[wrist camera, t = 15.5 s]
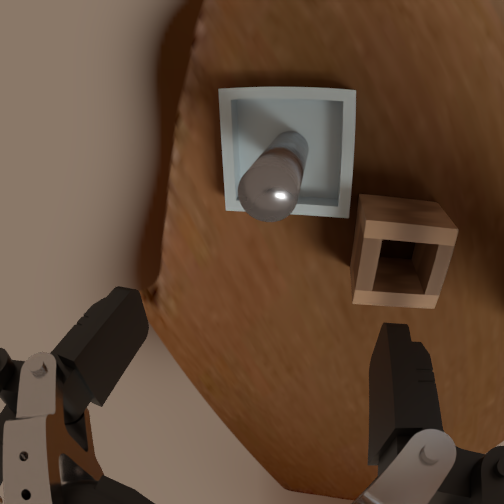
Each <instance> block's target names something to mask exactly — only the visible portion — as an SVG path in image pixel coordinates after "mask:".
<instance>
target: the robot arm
mask: <svg viewBox="0 0 504 504" xmlns="http://www.w3.org/2000/svg"><path fill="white" fill-rule="evenodd" d="M148 326H149V325H148V320H147V317H146V313H145V310H144V306H143V303H142V299H141V296H140V293H139V291H138V290H136V289H130V288H125V287H119V286H118V287H116V288H114V289H113V290H112V291H111V293H110V294H109V295H108V296H107V297H106V298H103V299H101V300H100V301H98V302H97V303H95V304H93V305H92V306H91V307H90V308H89V309H88V310H87V312H86V313H85V314H84V317H81V318H80V319H79V321H78V322H77V325H74V326H73V328H72V329H71V330H70V331H69V332H68V333H67V335H66V336H65V337H64V338H63V339H62V340H61V341H60V343H59V344H58V345H57V346H56V347H55V349H54V350H53V351H52V352H51V353H46V352H40V353H37V354H34V355H32V356H31V357H29V358H28V359H27V360H26V361H16V360H12V359H11V358H10V356H9V355H8V353H7V352H6V351H5V349H3V348H0V398H1V399H2V400H3V401H4V403H6V406H5V407H4V409H3V411H2V412H1V413H0V485H1V483H2V481H3V490H4V504H154V503H153V502H152V501H150V500H148V499H147V498H146V497H144V496H143V495H142V494H140V493H139V492H137V491H136V490H135V489H132V488H130V487H128V486H125V485H123V484H121V483H119V482H117V481H115V480H112V479H110V478H108V477H106V476H104V474H103V471H102V469H101V467H100V465H99V464H98V462H97V459H96V457H95V452H94V446H93V439H92V432H91V424H90V416H89V410H88V409H87V406H88V404H89V403H90V402H92V403H94V404H96V405H99V406H101V407H102V406H103V404H104V403H105V401H106V400H107V398H108V396H109V395H110V393H111V391H112V390H113V389H114V387H115V385H116V384H117V382H118V381H119V379H120V377H121V376H122V374H123V373H124V371H125V370H126V368H127V367H128V365H129V364H130V362H131V360H132V359H133V358H134V356H135V354H136V353H137V351H138V350H139V348H140V347H141V345H142V344H143V342H144V341H145V339H146V337H147V334H148V329H149V327H148ZM432 370H433V368H432V363H431V358H430V354H429V353H428V352H427V350H426V349H425V347H424V346H423V344H422V343H421V342H411V337H410V332H409V327H408V325H407V324H395V323H383V325H382V327H381V330H380V333H379V336H378V339H377V342H376V345H375V348H374V351H373V354H372V357H371V361H370V368H369V449H368V465H378V476H377V478H376V479H375V480H374V481H373V482H372V483H371V484H370V485H369V486H368V487H367V488H366V489H365V490H364V491H363V493H362V494H361V495H360V496H359V497H358V498H357V499H356V500H355V501H354V502H353V503H352V504H504V446H498V447H495V448H493V449H491V450H490V451H489V452H488V453H486V454H481V453H476V452H472V451H468V450H464V449H460V448H458V447H456V446H455V444H454V442H453V440H452V439H451V438H450V437H449V436H448V435H447V434H446V433H444V430H443V427H442V420H441V413H440V407H439V400H438V394H437V389H436V384H435V378H434V373H433V372H432ZM0 504H2V498H1V496H0Z"/></svg>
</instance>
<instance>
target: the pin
mask: <svg viewBox="0 0 504 504" xmlns="http://www.w3.org/2000/svg"><path fill="white" fill-rule="evenodd" d="M308 152H309V147H308V143H307V141H306V139H305V138H304V137H303V136H302V135H301V134H299V133H297V132H294V131H285V132H283V133H281V134H279V135H278V136H277V137H276V138H275V139H274V140H273V141H272V142H271V144H270V145H269V146H268V147H267V148H266V149H265V150H264V152H263V153H262V154H261V155H260V156H259V157H258V159H257V160H256V161H255V162H254V163H253V164H252V166H251V167H250V168H249V169H248V170H247V171H246V173H245V174H244V175H243V176H242V178H241V180H240V182H239V185H238V198H239V201H240V204H241V205H242V207H243V209H244V210H245V211H246V212H247V213H248V214H249V215H250V216H252V217H253V218H255V219H258V220H260V221H265V222H275V221H279V220H282V219H284V218H286V217H287V216H289V215H290V214H291V213H292V211H293V210H294V209H295V207H296V204H297V201H298V197H299V192H300V188H301V183H302V179H303V174H304V170H305V165H306V161H307V156H308Z"/></svg>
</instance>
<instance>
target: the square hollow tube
mask: <svg viewBox="0 0 504 504" xmlns="http://www.w3.org/2000/svg"><path fill="white" fill-rule="evenodd" d="M458 231H459V229H458V228H457V227H456V225H455V224H454V223H453V221H452V220H451V219H450V218H449V216H448V215H447V214H446V212H445V211H444V210H443V209H442V207H441V206H440V205H439V204H438V203H437V202H431V201H423V200H415V199H406V198H398V197H388V196H378V195H368V194H359V199H358V208H357V218H356V226H355V234H354V242H353V250H352V257H351V264H350V274H351V287H352V303H353V304H364V305H379V306H394V307H412V308H432V309H434V308H435V305H436V303H437V300H438V297H439V294H440V291H441V288H442V285H443V282H444V279H445V276H446V273H447V270H448V267H449V263H450V260H451V257H452V253H453V250H454V246H455V242H456V239H457V235H458ZM382 239H385V240H396V241H407V242H415V247H414V251H413V255H412V259H411V260H410V259H398V258H386V257H379V254H380V249H381V243H382Z"/></svg>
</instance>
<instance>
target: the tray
mask: <svg viewBox="0 0 504 504" xmlns="http://www.w3.org/2000/svg"><path fill="white" fill-rule="evenodd" d="M218 90H219V109H220V126H221V143H222V159H223V175H224V189H225V204H226V211H245V210H244V209H243V207H242V205H241V204H240V201H239V198H238V185H239V182H240V180H241V178H242V176H243V175H244V174H245V173H246V171H247V170H248V169H249V168H250V167H251V166H252V164H253V163H254V162H255V161H256V160H257V159H258V157H259V156H260V155H261V154H262V153H263V152H264V150H265V149H266V148H267V147H268V146H269V145H270V144H271V142H272V141H273V140H274V139H275V138H276V137H277V136H278V135H279V134H281V133H283V132H285V131H294V132H297V133H299V134H301V135H302V136H303V137H304V138H305V139H306V141H307V143H308V147H309V152H308V156H307V161H306V165H305V170H304V174H303V179H302V183H301V188H300V192H299V197H298V201H297V204H296V207H295V209H294V210H293V211H292V213H291V214H297V215H311V216H325V217H337V218H349V211H350V200H351V188H352V176H353V161H354V143H355V118H356V90H348V89H334V88H316V87H243V88H224V89H218Z"/></svg>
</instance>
